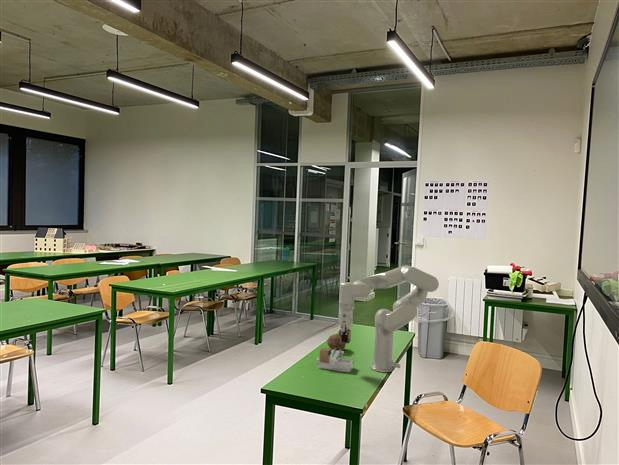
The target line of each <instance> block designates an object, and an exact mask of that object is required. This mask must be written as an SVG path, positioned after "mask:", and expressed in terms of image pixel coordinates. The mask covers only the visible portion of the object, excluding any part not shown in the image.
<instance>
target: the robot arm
mask: <svg viewBox="0 0 619 465" xmlns="http://www.w3.org/2000/svg"><path fill="white" fill-rule="evenodd" d="M404 283H409V284H411V285H413V286H414V287H413V289H412V290H411V291H410V292H409V293H407V294H406V295H404V296H402V297H401V298H399V299H397V300H396V301H395V302H394V303H393V305H392V311H391V310H390V309H388V308H387V309H386V308H381V309H378V310H377V312H376V313H375V315H374V330H375V331H374V332H375V333H374V352H373V362H372V363H371V364H370V368H371V370H373V371H376V372H379V373H391V372H393V371H395V370H396V369H395V368H397V369H400V368H401V364H399V363H398V362H394V359H393V348H394V346H393V345H394V332H395V331H398V330H400V329H401V328H403V327H405V326H406V325H407V324H409V323H411V322H412V321H413V320H414V319H415V318H416V317H417V315H418V308H419V306H421V305H422V304H423V303H424V302H425V301H426V299H427V297H428V293H432V292H435V291H437V290H438V288H439V285H440V283H439V280H438V278H437V277H435V275H432V274H430V273H428V272H425V271H423V270H421V269H418V268H417V267H415V266H410V265H406V264H405V265H402V266H399V267H396V268H393V269H391V270H388V271H385V272H382V273H378V274H373V275H370V276H369V275H368V276H365V277H363V278H360V279H357V280H356V281H355V280H354V282H348V281H346V282H344V281H343V282H341V283H340V286H339V287H340V288H339V310H340V324H339V326H340V329H342V335H341V342H345V343H346V344H348V343H347V342H348V335H347V331H348V330H351V329H352V327H353V326H354V325H353V324H354V321H353V320H354V319H353V318H354V317H353V316H354V315H353V314H354V313H353V312H354V310H355V297H356V298H359V299H365V298H368V297H369V296H370V294H371V292H372V290H376V289H390V288H393V287H396V286H399V285H401V284H404ZM345 330H346V331H345Z"/></svg>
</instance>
